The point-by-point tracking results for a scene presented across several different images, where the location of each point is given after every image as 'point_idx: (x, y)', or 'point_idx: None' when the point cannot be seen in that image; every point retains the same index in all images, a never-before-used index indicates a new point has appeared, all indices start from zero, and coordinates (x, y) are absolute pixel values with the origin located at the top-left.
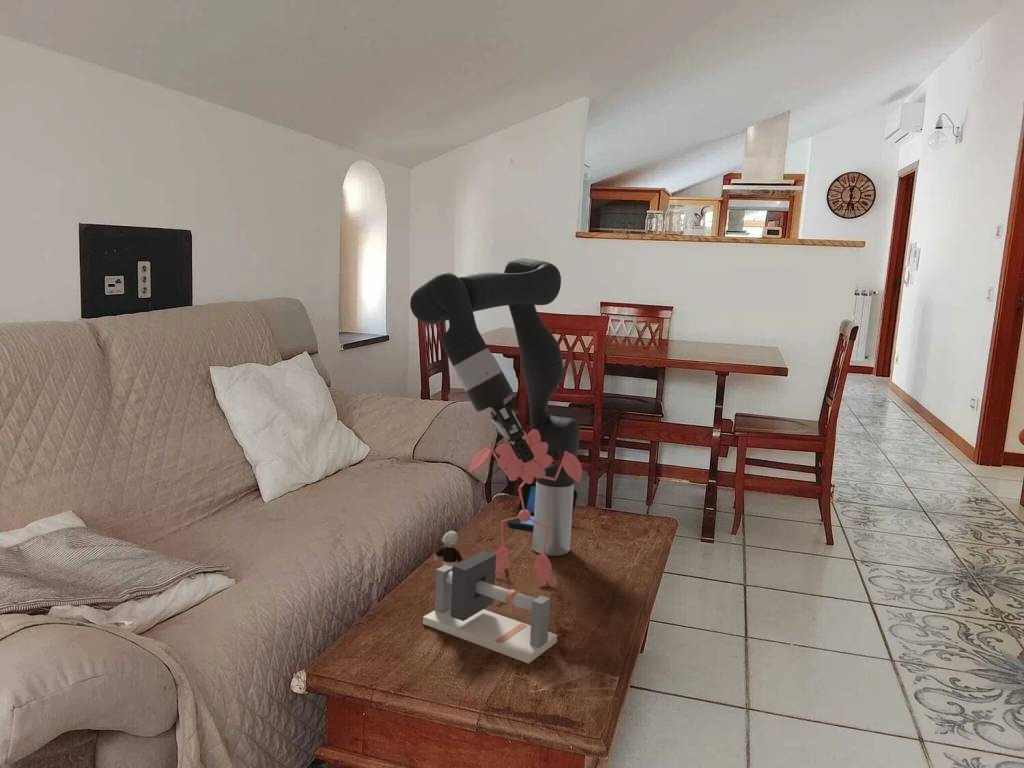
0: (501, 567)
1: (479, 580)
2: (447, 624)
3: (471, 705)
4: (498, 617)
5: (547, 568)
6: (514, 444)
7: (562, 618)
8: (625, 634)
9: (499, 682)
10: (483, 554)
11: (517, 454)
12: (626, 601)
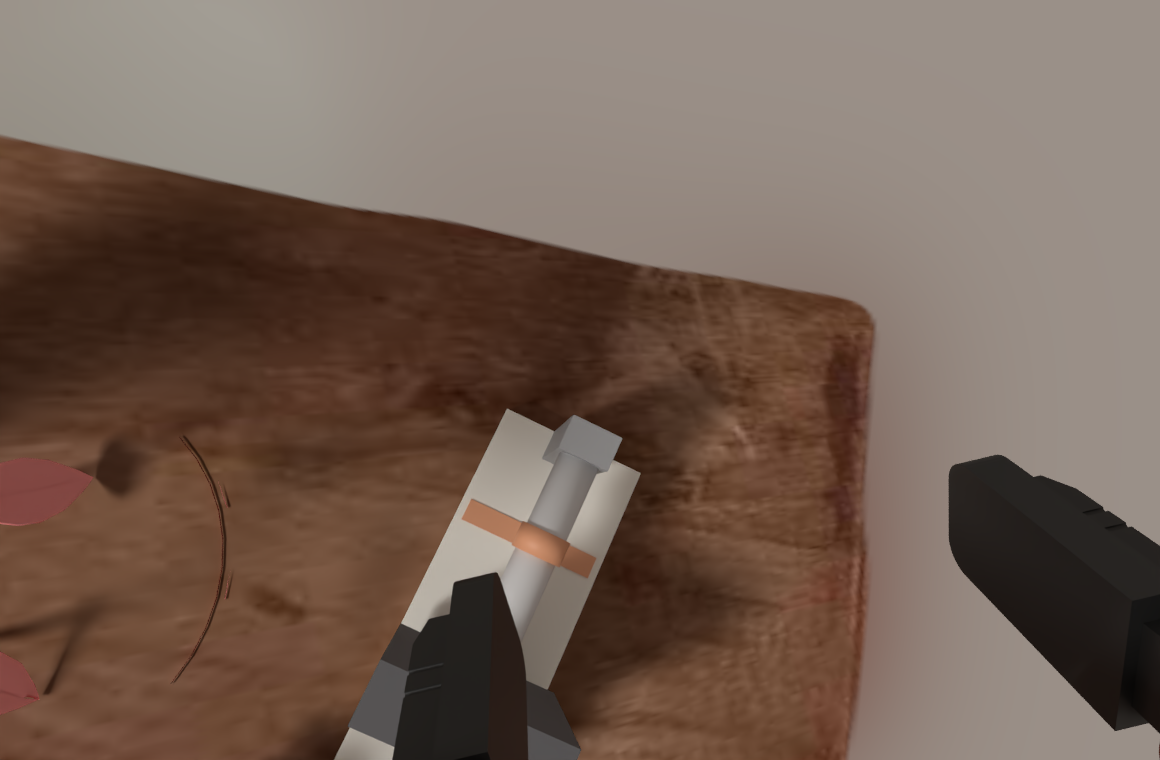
0: (11, 661)
1: None
2: None
3: (843, 579)
4: (434, 594)
5: (30, 473)
6: (1117, 719)
7: (351, 404)
8: (417, 230)
9: (736, 533)
10: (391, 716)
11: (522, 694)
12: (187, 213)
